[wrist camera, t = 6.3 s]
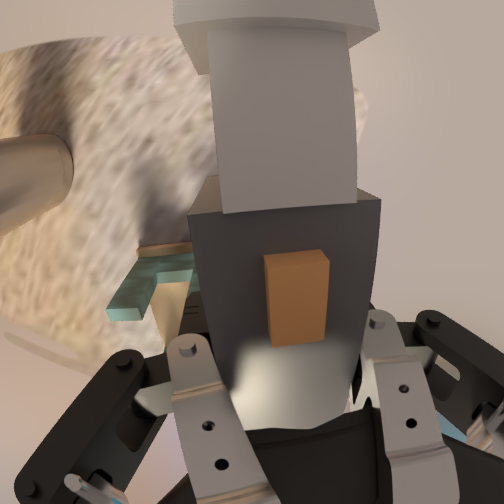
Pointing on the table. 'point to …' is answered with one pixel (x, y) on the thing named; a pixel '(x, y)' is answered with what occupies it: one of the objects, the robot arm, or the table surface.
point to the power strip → (283, 204)
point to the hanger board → (157, 287)
